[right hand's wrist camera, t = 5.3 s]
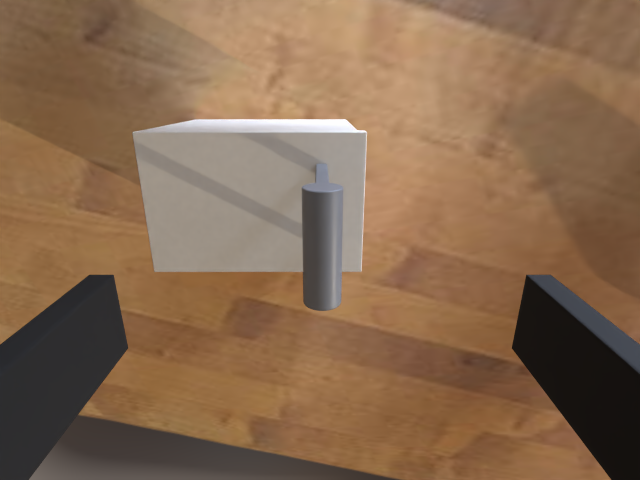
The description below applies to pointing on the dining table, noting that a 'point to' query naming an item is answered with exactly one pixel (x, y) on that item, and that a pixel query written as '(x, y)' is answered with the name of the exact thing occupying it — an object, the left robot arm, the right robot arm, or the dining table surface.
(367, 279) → the dining table surface
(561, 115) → the dining table surface
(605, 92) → the dining table surface
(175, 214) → the cabinet door with handle
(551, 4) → the dining table surface
